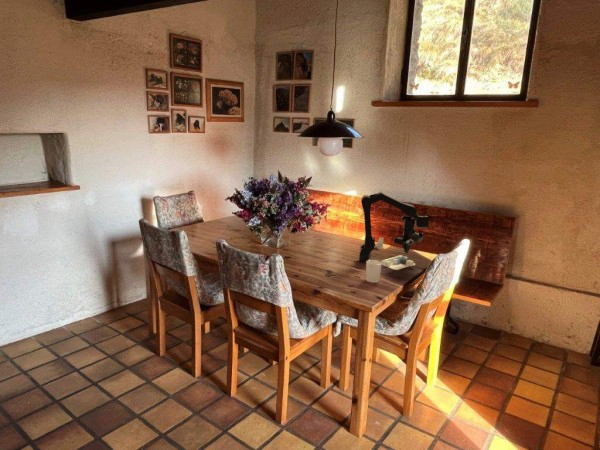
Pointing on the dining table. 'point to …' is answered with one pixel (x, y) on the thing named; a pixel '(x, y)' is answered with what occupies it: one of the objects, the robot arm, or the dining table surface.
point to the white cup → (373, 270)
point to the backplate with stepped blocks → (395, 262)
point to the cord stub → (406, 261)
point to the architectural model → (380, 243)
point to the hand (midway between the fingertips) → (406, 253)
